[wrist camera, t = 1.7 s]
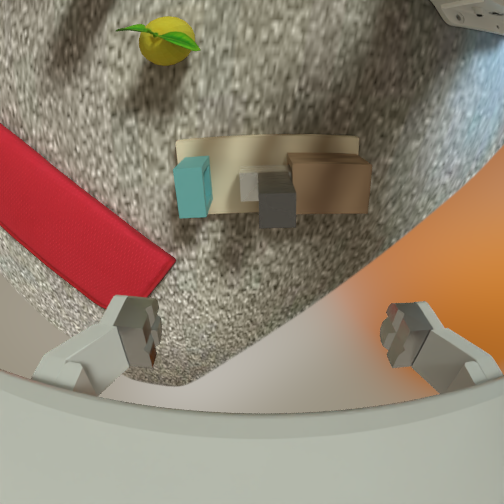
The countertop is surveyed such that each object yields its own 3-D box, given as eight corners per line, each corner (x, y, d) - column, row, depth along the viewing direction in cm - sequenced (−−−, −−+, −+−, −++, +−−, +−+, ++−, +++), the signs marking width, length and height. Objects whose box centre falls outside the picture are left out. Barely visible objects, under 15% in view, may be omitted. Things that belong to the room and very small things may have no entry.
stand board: (355, 135, 33) (359, 137, 32) (350, 206, 37) (354, 210, 36) (178, 139, 33) (175, 142, 32) (186, 210, 38) (184, 215, 37)
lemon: (139, 39, 27) (101, 26, 18) (182, 11, 26) (157, -14, 17) (166, 81, 30) (135, 80, 21) (211, 54, 28) (194, 40, 20)
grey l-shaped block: (354, 165, 32) (387, 193, 24) (353, 190, 33) (382, 225, 25) (240, 166, 32) (235, 194, 24) (242, 192, 34) (237, 229, 26)
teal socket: (209, 155, 33) (201, 167, 28) (213, 198, 36) (206, 217, 31) (184, 157, 33) (173, 169, 28) (189, 200, 36) (179, 218, 31)
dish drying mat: (128, 316, 48) (121, 331, 44) (-36, 179, 34) (-49, 186, 31) (178, 254, 42) (172, 269, 38) (-13, 101, 29) (-29, 104, 25)
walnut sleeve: (356, 153, 33) (372, 165, 28) (353, 196, 35) (367, 213, 30) (286, 152, 33) (292, 163, 28) (287, 196, 35) (292, 214, 31)
